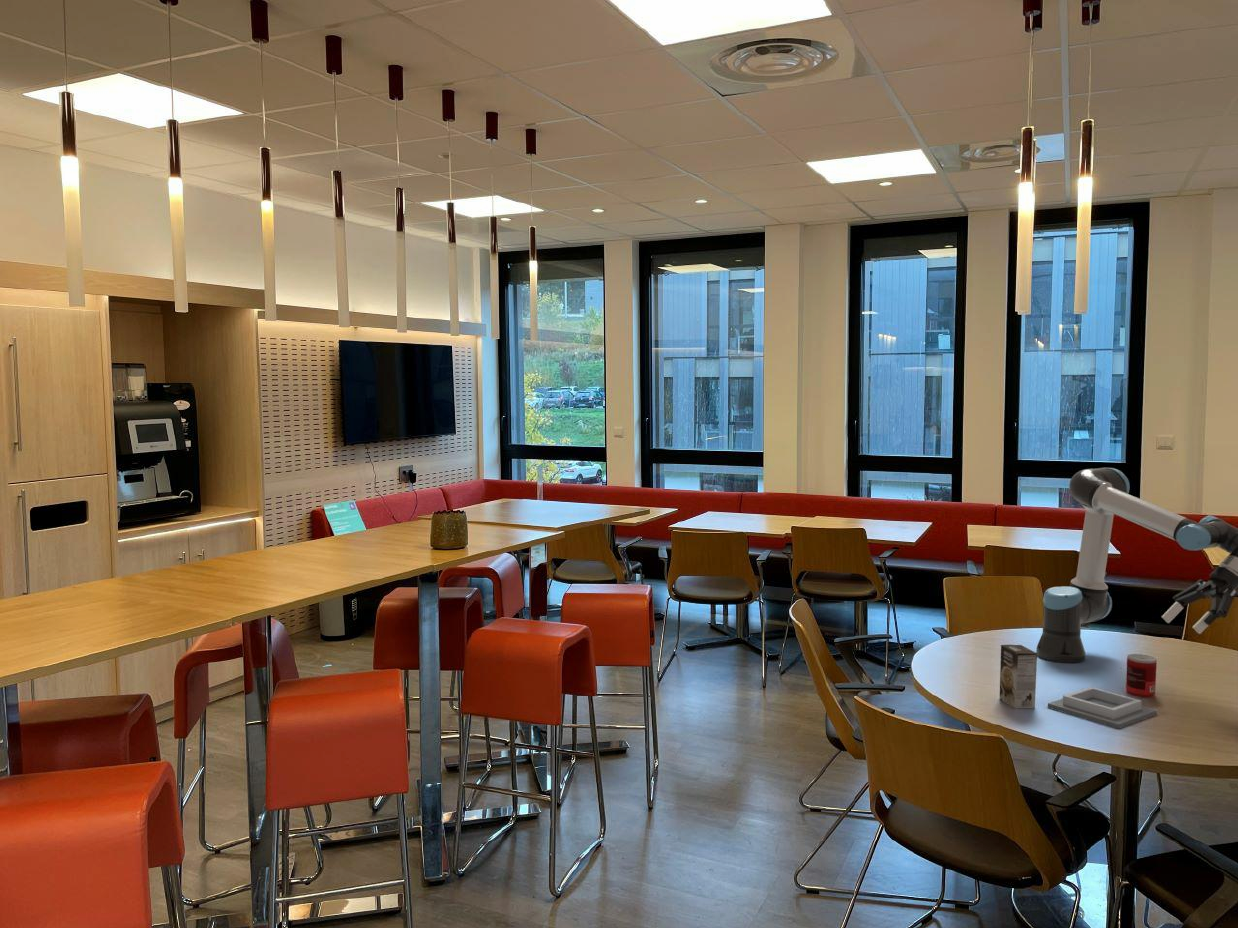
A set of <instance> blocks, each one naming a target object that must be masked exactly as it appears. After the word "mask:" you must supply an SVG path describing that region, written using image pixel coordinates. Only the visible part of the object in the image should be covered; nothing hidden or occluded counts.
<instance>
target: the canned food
mask: <svg viewBox="0 0 1238 928" xmlns="http://www.w3.org/2000/svg"><path fill="white" fill-rule="evenodd" d="M1125 674H1126V675H1125V676H1126V677H1125V691H1126V693H1127V694H1129V695H1130V696H1134V697H1138V698H1152V697H1154V696H1155V694H1156V684H1157V683H1156V682H1157V681H1156V680H1157V658H1156V657H1154V656H1151V655H1148V654H1143V653H1142V654H1141V653H1132V654H1131V653H1130V654H1128V655H1127V657H1126V672H1125Z"/></svg>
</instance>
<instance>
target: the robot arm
mask: <svg viewBox="0 0 1238 928" xmlns="http://www.w3.org/2000/svg"><path fill="white" fill-rule="evenodd" d="M1130 485H1131V484H1130V481H1129V478H1128V477H1127V476H1126V475H1125V473H1123V472H1122V471H1121V470H1119V469H1117V468H1114V467H1098V468H1085V469H1082V470H1078V472H1076V473H1074V475H1073V476H1072V477H1071V478H1070V480H1069V485H1068V487H1069V488H1068V489H1069V492H1070V495H1071V497H1072V498H1073V499H1074V500H1076V501H1077V502H1079V503H1080V504H1081V506H1082V507H1083V509H1085V515H1084V521H1083V529H1082V535H1081V542H1080V549H1079V554H1078V564H1077V568H1076V569H1077V570H1076V574H1075V575H1076V576H1075V577H1074V578H1072V579H1071V580H1070V584H1069V586H1065V585H1064V586H1063V585H1062V586H1053V587H1049V588H1047V589H1046V590H1045V592H1044V593H1043V599H1042V600H1043V601H1042V603H1043V607H1042V615H1043V616H1042V633H1041V635H1040V639H1039V640H1038V643H1037V646H1036V647H1035V648H1036V649H1035V653H1037V657H1039V658H1041V659H1044V660H1047V661H1051V662H1057V663H1066V664H1069V663H1070V664H1072V663H1073V664H1076V663H1077V664H1078V663H1082V662H1085V661H1086V654H1087V653H1086V650H1085V648H1084V644H1083V641H1082V638H1081V630H1082V629H1081V628H1082V624H1086V623H1094V622H1098V621H1100V620H1102V619H1104V618H1106V617H1107V616H1108V615H1109V614H1110V612H1111V611H1112V608H1113V600H1112V597H1111V596H1110V593H1109V592H1108V590H1109V586H1108V585H1107V584H1106V582H1105V577H1106V568H1107V563H1108V555H1109V551H1110V542H1111V535H1112V529H1113V522H1114V516H1115V515H1116V516H1117V517H1118V516H1119V517H1120V518H1123V519H1125V520H1127V521H1129V522H1132V523H1134V524H1136V525H1139V526H1141V527H1143V528H1145V529H1148V530H1150V531H1152V532H1155V533H1157V534H1160V535H1162V536H1164V537H1166V538H1169V539H1171V540H1173V541H1176V542H1177V543H1178V545H1179V546H1180V547H1181V548H1183V549H1184V550H1188V551H1197V552H1198V551H1201V550H1202V551H1203V550H1206V549H1212V548H1219V549H1221V550H1223V551H1224V552H1226V553H1228V556H1226V557H1225V559H1223V560H1222V561H1221V562H1220V563H1219V565H1218V566H1217V567H1216V568H1214V570H1213V571H1212V572H1211V573H1209V580H1208V581H1204V580H1203V579H1201V578H1200V579H1198V580H1197V581H1195V583H1194V584H1192V585H1189V586H1188V587H1187V588H1185V589H1183V590H1182V591H1180V592H1179V593H1177V594H1175V595H1173V596H1172V599H1173V600H1174V602H1173V604H1171V606H1169V608H1168V609H1167V611H1165V612H1164V614H1163V615H1161V618H1162V620H1164V621H1165V622H1166V623H1167V624H1170V623H1171V622H1172V621H1173V620H1174V619H1175V618H1176V617H1177V616H1178V615H1179V614H1180V613H1181V612H1182V610H1183V609H1184V608H1185V606H1187V605H1189V604H1191V603H1194V602H1196V601H1199V600H1200V599H1211V608H1210V609H1209V610H1208V611H1206V612H1205V613H1204V614H1203V615H1202V617H1201V618H1200V619H1198V620H1197V622H1196V623H1194V625H1192V629H1194V631H1195V632H1196V633H1197V634H1199V635H1201V634H1202V633H1203V632H1204V631H1205V630H1206V629H1207V628H1208V627H1209V626H1210V625H1212V623H1213V622H1214V621H1216V620H1217V619H1219V618H1223V619H1225V618H1226V617H1227V615H1228V614H1229V611H1230V609H1231V606H1232V604H1233V601H1234V599H1235V598H1236V597H1237V596H1238V592H1237V591H1236V590H1238V589H1237V588H1238V528H1237V527H1236V526H1233V525H1232V524H1230V523H1228V522H1226V521H1224V520H1223V519H1222V518H1218V517H1216V516H1214V515H1207V516H1205V517H1203V518H1202V519H1200V521H1199V522H1197V521H1195V520H1193V519H1189V518H1187V517H1185V516H1182V515H1180V514H1178V513H1176V512H1173V511H1171V510H1168V509H1166V508H1163V507H1161V506H1158V505H1156V504H1153V503H1151V502H1149V501H1146V500H1144V499H1142V498H1139V497H1137V496H1133V495H1131V494H1129V493H1130V488H1131V487H1130Z"/></svg>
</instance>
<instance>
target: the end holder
mask: <svg viewBox="0 0 1238 928" xmlns="http://www.w3.org/2000/svg"><path fill="white" fill-rule="evenodd" d="M1142 701H1143V700H1141V699H1137V698H1134V697H1130V696H1126V695H1122V694H1118V693H1114V692H1111V691H1108V690H1103V689H1099V688H1096V687H1092V686H1090V687H1087V688H1084V689H1080V690H1076V691H1074V692H1070V693H1066V694H1064V695H1062V698H1060V699H1058V700H1054V701H1050V702H1048V703H1047V708H1048V709H1051V708H1053V709H1052V710H1054V709H1056V710H1055V711H1058V710H1060V711H1059V712H1061V711H1063V712H1062V713H1064V712H1066V713H1065V714H1068V713H1069V715H1071V714H1072V715H1071V716H1074V715H1076V717H1078V716H1079V717H1078V718H1081V717H1082V718H1081V719H1084V718H1086V719H1085V720H1088V721H1091V722H1094V723H1099V724H1101V725H1105V726H1109V727H1110V728H1115V729H1118V730H1119V729H1121V728H1124V727H1127V726H1131V725H1133V724H1135V723H1138V722H1141V721H1143V720H1146V719H1149V718H1152V717H1154V716H1157V715H1158V710H1157V709H1154V708H1149V707H1146V706H1143V705H1142V703H1143V702H1142Z"/></svg>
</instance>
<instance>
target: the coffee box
mask: <svg viewBox="0 0 1238 928" xmlns="http://www.w3.org/2000/svg"><path fill="white" fill-rule="evenodd" d="M1037 665H1038V656H1037V653H1036V651H1034V650H1031V649H1030V648H1027V647H1026V646H1024V645H1022V644H1001V645H1000V671H999V699H1000V700H1001V699H1002V701H1003V702H1004V701H1005V702H1004V703H1006V704H1007V703H1008V705H1009V706H1011V708H1013V707H1014V708H1013V709H1035V708H1036V689H1037V688H1036V685H1037V670H1038V669H1037V668H1038V667H1037Z"/></svg>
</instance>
